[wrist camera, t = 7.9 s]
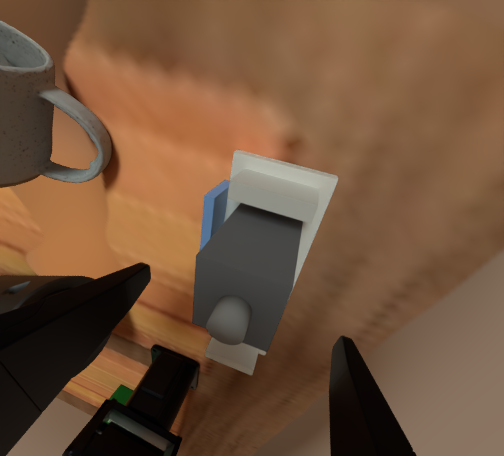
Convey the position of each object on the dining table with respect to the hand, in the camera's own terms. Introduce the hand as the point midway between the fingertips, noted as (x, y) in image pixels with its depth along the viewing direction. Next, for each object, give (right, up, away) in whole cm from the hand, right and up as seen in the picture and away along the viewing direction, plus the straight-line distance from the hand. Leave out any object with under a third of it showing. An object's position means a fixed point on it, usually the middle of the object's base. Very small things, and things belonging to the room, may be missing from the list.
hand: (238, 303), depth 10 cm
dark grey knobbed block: (+1, +3, +5) cm, 6 cm away
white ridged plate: (+1, 0, +8) cm, 8 cm away
